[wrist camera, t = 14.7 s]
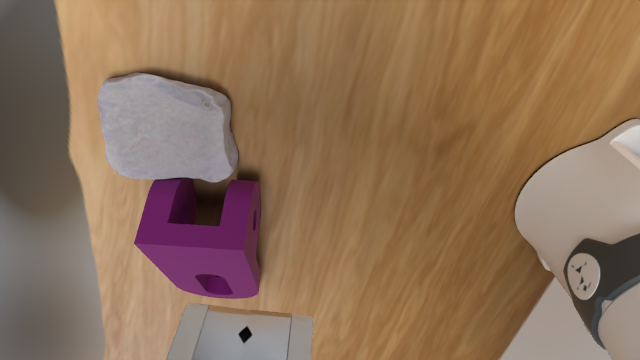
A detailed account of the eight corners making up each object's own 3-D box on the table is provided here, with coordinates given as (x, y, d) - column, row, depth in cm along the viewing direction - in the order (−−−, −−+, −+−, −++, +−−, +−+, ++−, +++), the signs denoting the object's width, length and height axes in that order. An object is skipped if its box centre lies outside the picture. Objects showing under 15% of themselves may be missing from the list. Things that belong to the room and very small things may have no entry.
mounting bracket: (269, 236, 56) (256, 166, 40) (261, 300, 52) (243, 250, 36) (198, 231, 56) (157, 160, 40) (185, 295, 52) (133, 243, 36)
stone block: (108, 65, 39) (125, 165, 43) (82, 73, 35) (103, 184, 39) (237, 69, 39) (241, 168, 43) (227, 78, 35) (233, 188, 39)
